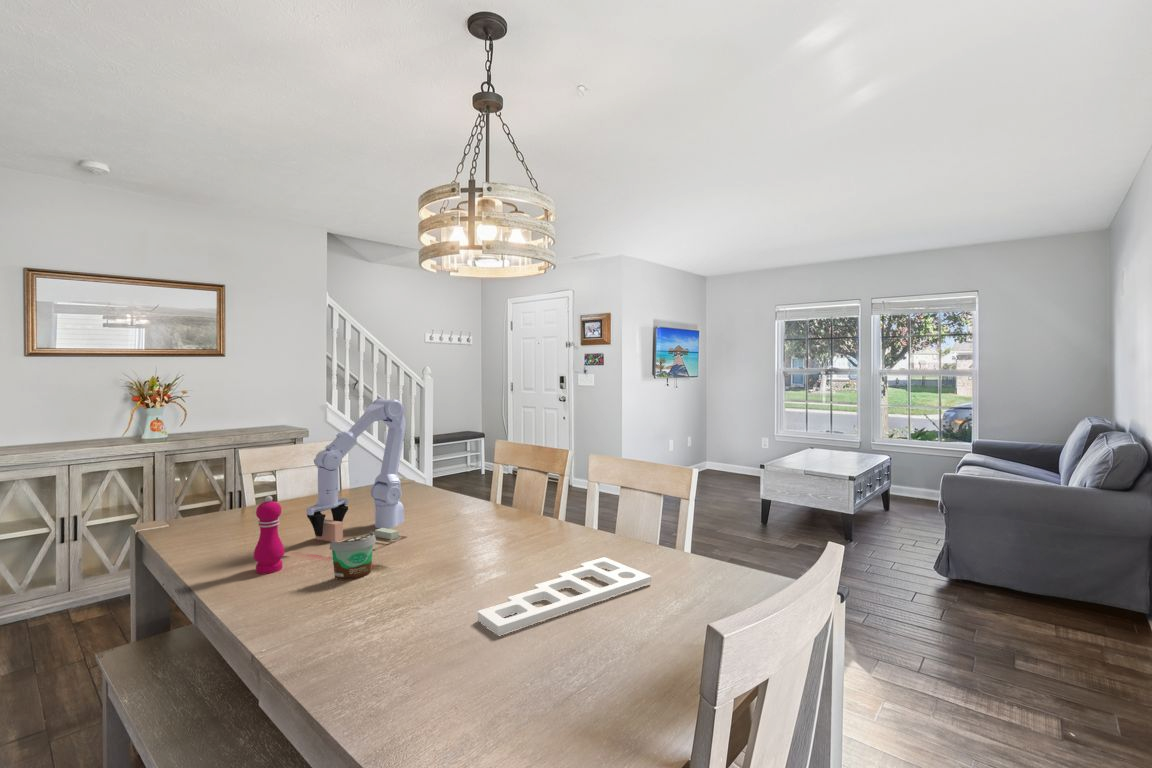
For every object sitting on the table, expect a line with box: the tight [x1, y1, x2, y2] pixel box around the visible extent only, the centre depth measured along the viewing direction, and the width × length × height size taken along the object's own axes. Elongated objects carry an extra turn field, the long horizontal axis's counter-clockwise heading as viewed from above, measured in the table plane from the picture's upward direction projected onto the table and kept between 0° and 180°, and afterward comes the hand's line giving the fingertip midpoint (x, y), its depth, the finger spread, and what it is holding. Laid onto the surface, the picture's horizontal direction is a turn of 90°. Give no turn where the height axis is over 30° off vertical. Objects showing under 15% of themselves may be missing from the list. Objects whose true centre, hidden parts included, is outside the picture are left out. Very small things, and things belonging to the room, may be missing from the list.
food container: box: [329, 530, 377, 581], centre depth 146 cm, size 12×6×10 cm, turn 143°
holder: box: [477, 556, 652, 635], centre depth 134 cm, size 45×18×3 cm, turn 129°
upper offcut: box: [374, 528, 399, 541], centre depth 175 cm, size 3×7×2 cm, turn 62°
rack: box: [373, 532, 407, 552], centre depth 170 cm, size 15×12×2 cm
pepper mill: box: [253, 495, 285, 575], centre depth 150 cm, size 7×7×20 cm
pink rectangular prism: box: [315, 518, 344, 542], centre depth 172 cm, size 3×8×7 cm, turn 68°
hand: (328, 532), depth 172 cm, fingers open, 7 cm apart
